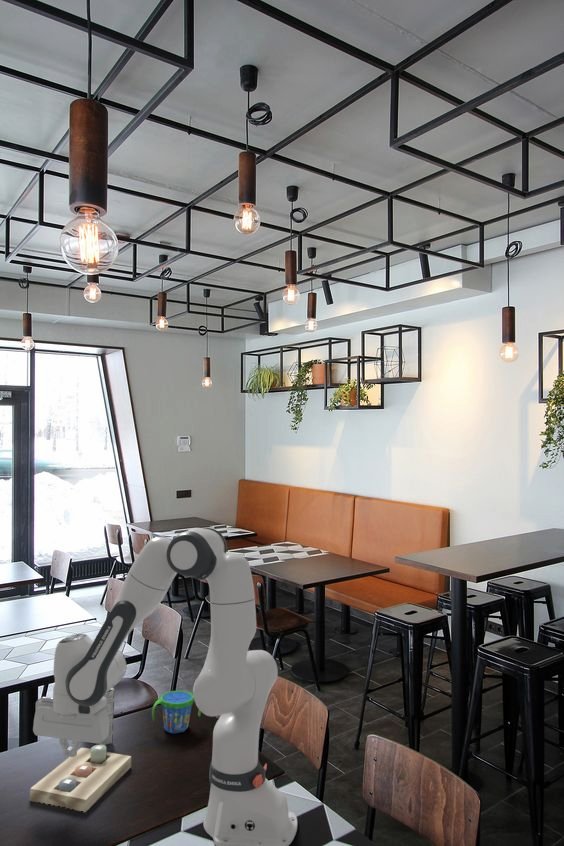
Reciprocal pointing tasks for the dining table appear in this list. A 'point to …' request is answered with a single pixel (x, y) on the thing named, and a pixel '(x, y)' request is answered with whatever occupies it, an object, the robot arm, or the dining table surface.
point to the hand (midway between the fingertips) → (70, 755)
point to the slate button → (67, 784)
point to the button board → (80, 781)
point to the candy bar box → (110, 710)
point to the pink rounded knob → (83, 770)
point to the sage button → (98, 754)
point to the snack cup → (175, 710)
